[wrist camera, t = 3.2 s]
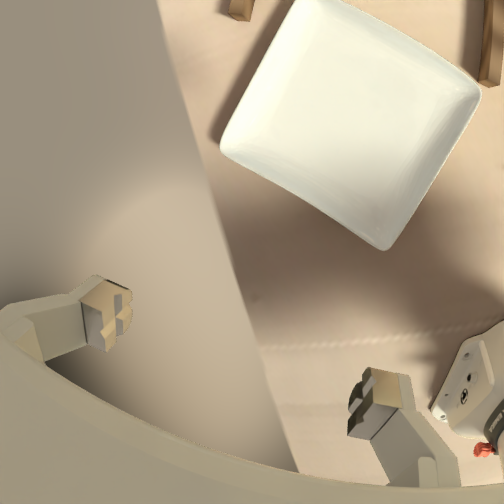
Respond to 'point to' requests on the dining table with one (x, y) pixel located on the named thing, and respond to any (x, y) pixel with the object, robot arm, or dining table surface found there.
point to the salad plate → (350, 117)
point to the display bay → (494, 40)
